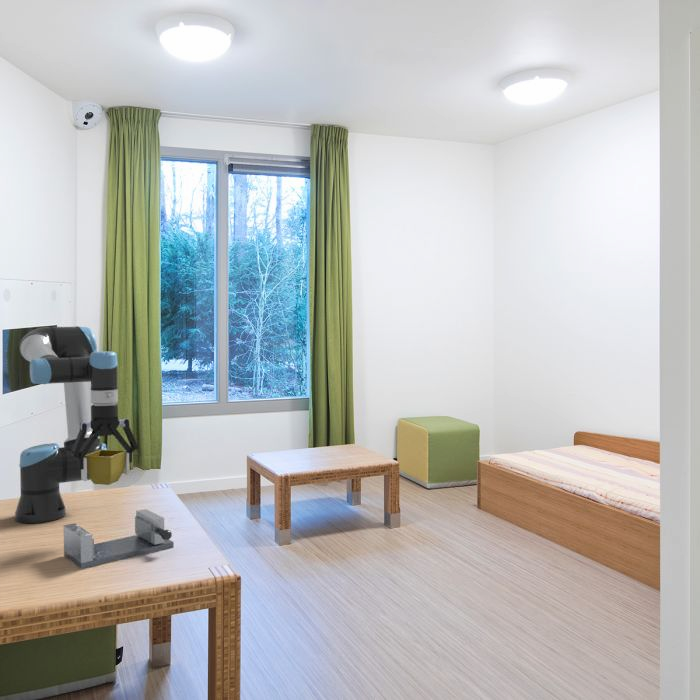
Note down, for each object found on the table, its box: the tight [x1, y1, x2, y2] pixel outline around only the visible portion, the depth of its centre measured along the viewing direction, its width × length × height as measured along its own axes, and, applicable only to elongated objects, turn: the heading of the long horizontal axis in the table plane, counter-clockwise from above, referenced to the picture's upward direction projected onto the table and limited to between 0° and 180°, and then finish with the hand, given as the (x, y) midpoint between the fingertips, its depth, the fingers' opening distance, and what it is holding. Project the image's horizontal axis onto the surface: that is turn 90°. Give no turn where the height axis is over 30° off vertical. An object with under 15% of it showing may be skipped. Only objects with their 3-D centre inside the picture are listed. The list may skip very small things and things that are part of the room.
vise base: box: [63, 522, 174, 570], centre depth 192 cm, size 13×26×8 cm, turn 131°
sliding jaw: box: [134, 508, 172, 545], centre depth 196 cm, size 18×4×7 cm, turn 41°
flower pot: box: [84, 449, 126, 486], centre depth 204 cm, size 9×9×9 cm
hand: (105, 477), depth 204 cm, fingers closed on flower pot, 12 cm apart
